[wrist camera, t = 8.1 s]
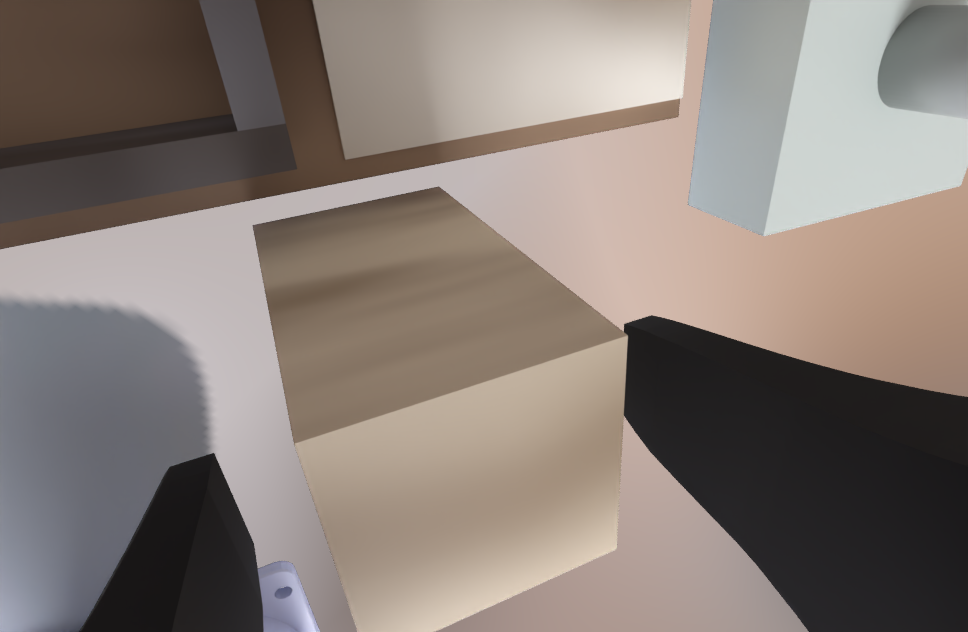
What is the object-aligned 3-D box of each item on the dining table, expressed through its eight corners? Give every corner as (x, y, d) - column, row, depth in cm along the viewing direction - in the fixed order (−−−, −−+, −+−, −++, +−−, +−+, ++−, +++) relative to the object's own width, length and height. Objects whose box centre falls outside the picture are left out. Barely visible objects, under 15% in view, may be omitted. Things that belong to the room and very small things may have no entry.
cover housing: (870, 164, 20) (1089, 216, 15) (687, 204, 18) (876, 282, 13) (948, -117, 16) (1280, -173, 11) (727, -115, 14) (1026, -186, 9)
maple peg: (457, 336, 17) (616, 549, 10) (301, 383, 15) (368, 662, 9) (438, 186, 14) (628, 335, 8) (252, 225, 13) (294, 443, 6)
